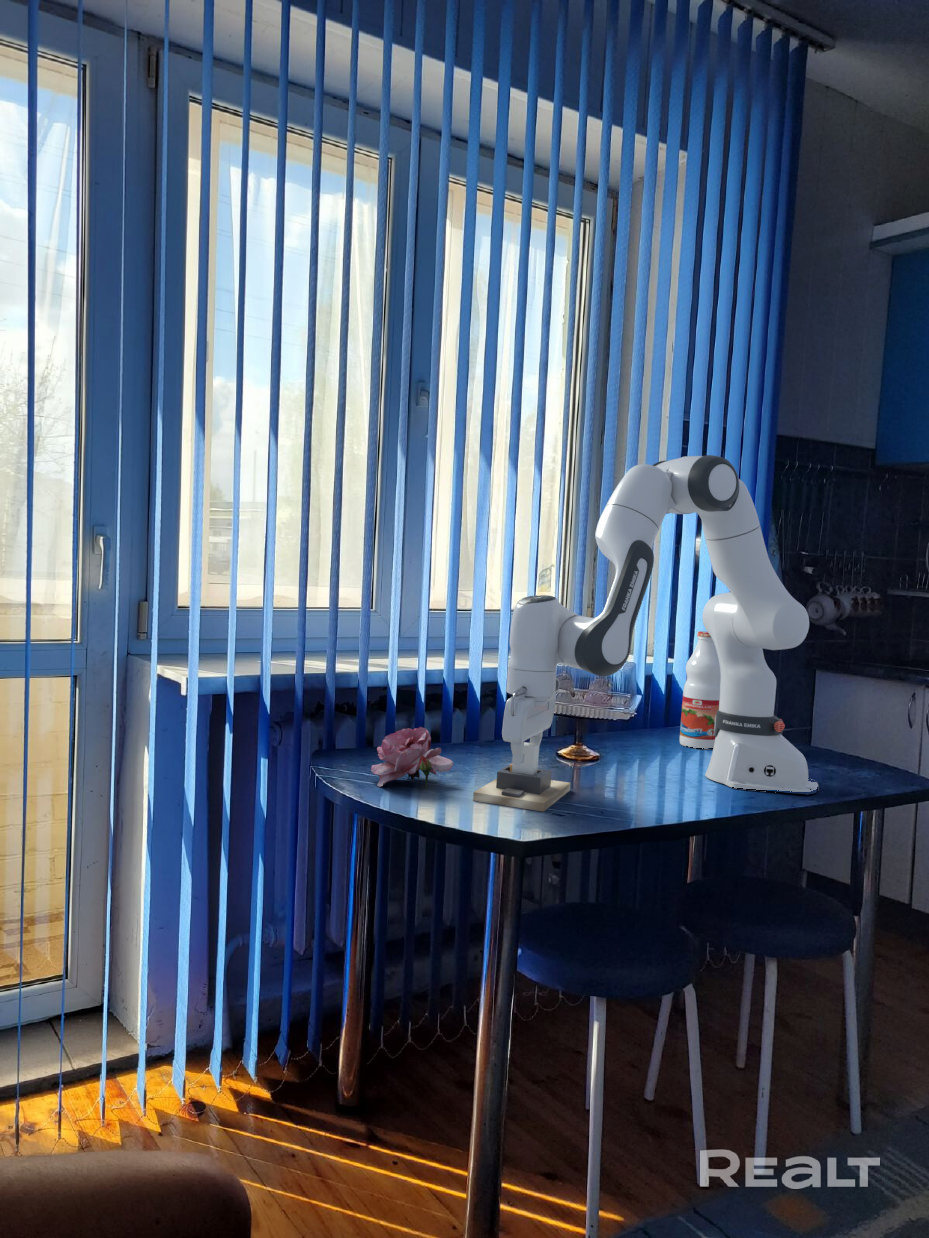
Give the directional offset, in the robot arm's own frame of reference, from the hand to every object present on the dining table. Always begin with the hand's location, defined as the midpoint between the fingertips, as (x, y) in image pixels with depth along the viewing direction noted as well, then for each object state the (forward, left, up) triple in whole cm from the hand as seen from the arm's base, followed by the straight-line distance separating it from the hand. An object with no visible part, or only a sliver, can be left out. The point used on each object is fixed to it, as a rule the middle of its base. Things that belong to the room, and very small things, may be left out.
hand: (525, 759), depth 184 cm
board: (0, 0, -7) cm, 7 cm away
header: (0, 0, -5) cm, 5 cm away
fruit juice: (-22, -74, -7) cm, 78 cm away
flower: (+21, +4, -7) cm, 22 cm away
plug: (0, 0, -5) cm, 5 cm away
